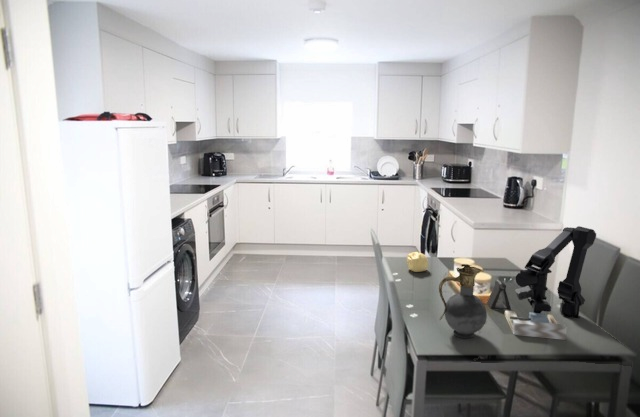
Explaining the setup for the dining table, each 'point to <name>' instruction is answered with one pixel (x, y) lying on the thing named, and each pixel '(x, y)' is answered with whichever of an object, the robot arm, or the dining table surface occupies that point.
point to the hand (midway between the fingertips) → (535, 318)
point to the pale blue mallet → (534, 317)
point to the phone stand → (494, 296)
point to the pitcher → (464, 304)
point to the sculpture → (417, 262)
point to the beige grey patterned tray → (536, 327)
